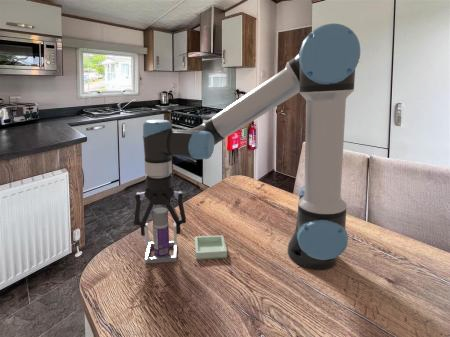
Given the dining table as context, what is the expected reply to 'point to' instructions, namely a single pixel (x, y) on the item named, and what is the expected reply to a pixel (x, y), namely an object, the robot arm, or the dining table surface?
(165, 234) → the container
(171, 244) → the collar
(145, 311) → the dining table surface
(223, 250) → the tray
